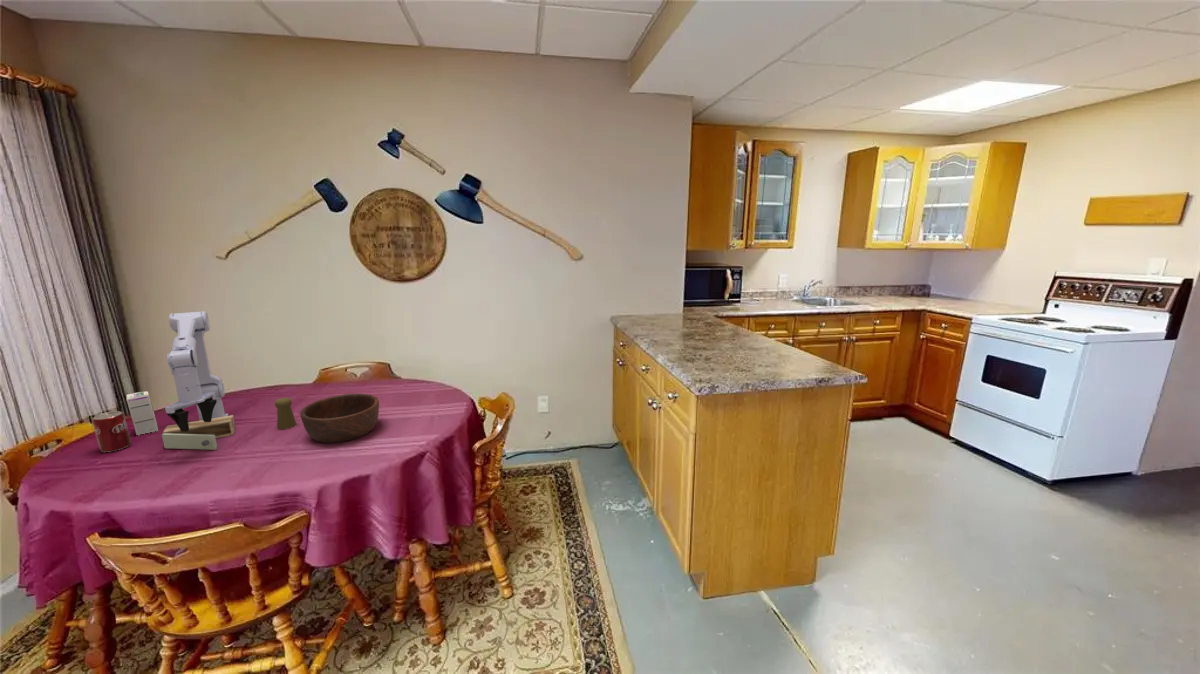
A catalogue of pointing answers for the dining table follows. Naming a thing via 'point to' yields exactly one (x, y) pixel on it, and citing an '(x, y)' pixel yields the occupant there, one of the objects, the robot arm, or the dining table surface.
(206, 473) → the dining table surface
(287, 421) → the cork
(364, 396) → the wooden bowl
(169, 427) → the cabinet
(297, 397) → the dining table surface
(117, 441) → the soda can
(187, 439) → the cabinet door
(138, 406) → the syrup box
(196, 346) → the robot arm
